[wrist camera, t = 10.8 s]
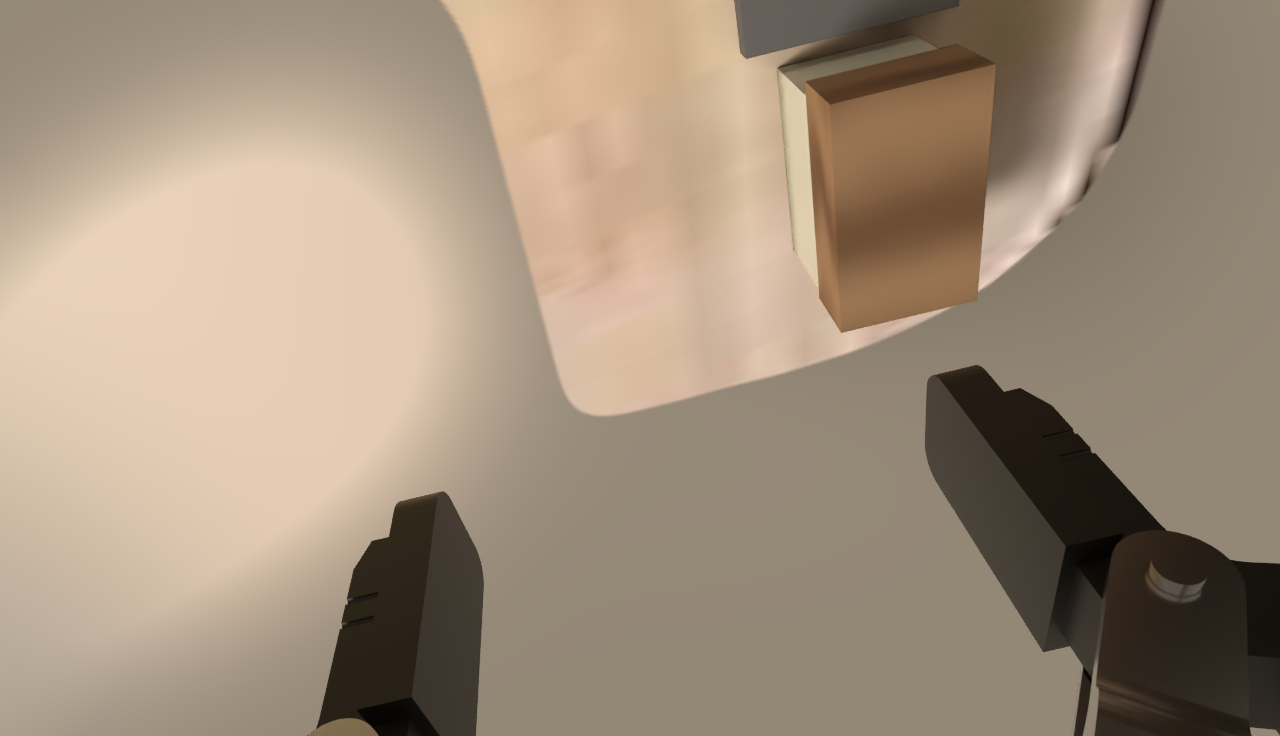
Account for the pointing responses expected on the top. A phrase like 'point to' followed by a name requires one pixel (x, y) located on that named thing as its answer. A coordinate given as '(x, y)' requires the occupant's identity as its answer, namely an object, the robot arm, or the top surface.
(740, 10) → the mat
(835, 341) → the top surface
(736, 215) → the top surface
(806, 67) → the dish
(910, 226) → the lid
